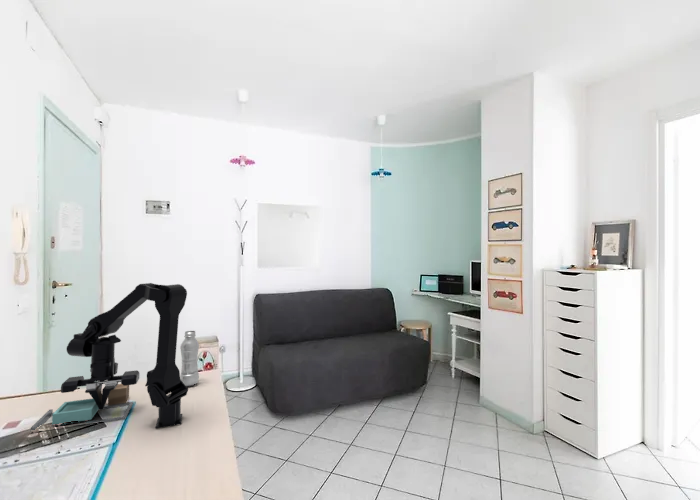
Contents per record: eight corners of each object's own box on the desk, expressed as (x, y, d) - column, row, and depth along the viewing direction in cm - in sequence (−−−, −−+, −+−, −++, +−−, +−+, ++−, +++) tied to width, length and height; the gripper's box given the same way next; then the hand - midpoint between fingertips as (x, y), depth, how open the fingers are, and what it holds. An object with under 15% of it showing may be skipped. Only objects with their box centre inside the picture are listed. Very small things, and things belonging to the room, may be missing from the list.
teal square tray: (91, 422, 99) (91, 409, 99) (52, 427, 96) (52, 414, 96) (100, 409, 107) (100, 397, 107) (64, 414, 104) (64, 402, 104)
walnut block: (126, 403, 113) (126, 387, 113) (107, 405, 111) (108, 390, 111) (129, 397, 117) (129, 382, 117) (111, 399, 115) (112, 384, 115)
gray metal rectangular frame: (125, 419, 101) (125, 413, 101) (30, 433, 93) (30, 427, 93) (133, 403, 112) (133, 398, 112) (49, 415, 104) (49, 409, 104)
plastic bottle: (202, 382, 132) (203, 330, 132) (192, 388, 125) (193, 333, 125) (186, 381, 132) (187, 329, 133) (175, 388, 125) (176, 333, 126)
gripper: (142, 348, 115) (141, 395, 115) (74, 354, 108) (73, 403, 108) (136, 357, 105) (135, 408, 105) (60, 364, 98) (59, 419, 97)
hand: (101, 409), depth 104 cm, fingers closed
